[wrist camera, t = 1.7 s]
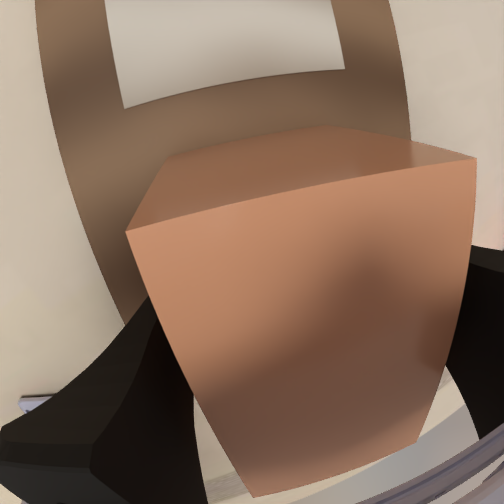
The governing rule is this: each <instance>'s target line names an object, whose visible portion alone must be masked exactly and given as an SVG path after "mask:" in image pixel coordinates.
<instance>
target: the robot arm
mask: <svg viewBox="0 0 504 504" xmlns="http://www.w3.org/2000/svg"><path fill="white" fill-rule="evenodd" d="M445 365H446V367H447V369H448V370H449V372H450V374H451V376H452V377H453V379H454V381H455V383H456V385H457V387H458V389H459V390H460V393H461V395H462V397H463V399H464V401H465V403H466V406H467V408H468V410H469V412H470V415H471V417H472V420H473V423H474V425H475V428H476V431H477V434H478V437H479V441H477V442H476V443H474V444H473V445H471V446H470V447H468V448H467V449H465V450H464V451H462V452H460V453H459V454H457V455H456V456H454V457H452V458H451V459H449V460H447V461H445V462H444V463H442V464H440V465H439V466H437V467H435V468H433V469H431V470H429V471H428V472H425V473H424V474H422V475H420V476H418V477H416V478H414V479H412V480H410V481H408V482H406V483H404V484H401V485H399V486H397V487H395V488H393V489H390V490H388V491H386V492H384V493H381V494H379V495H377V496H374V497H372V498H369V499H367V500H364V501H362V502H359V503H356V504H427V503H430V502H431V501H433V500H435V499H437V498H439V497H440V496H442V495H444V494H446V493H447V492H449V491H451V490H452V489H454V488H455V487H457V486H459V485H460V484H462V483H464V482H465V481H467V480H468V479H470V478H471V477H472V476H474V475H475V474H477V473H479V472H480V471H481V470H483V469H484V468H486V467H487V466H488V465H490V464H491V463H493V462H494V461H495V460H497V459H498V458H499V457H501V456H502V455H503V454H504V251H501V250H495V249H489V248H483V247H478V246H474V245H471V250H470V257H469V264H468V270H467V276H466V282H465V287H464V292H463V297H462V302H461V307H460V311H459V316H458V320H457V324H456V328H455V332H454V336H453V340H452V343H451V347H450V351H449V354H448V357H447V361H446V364H445ZM18 405H19V407H20V408H21V409H22V410H23V412H24V413H25V414H24V415H22V416H20V417H19V418H17V419H15V420H13V421H12V422H10V423H8V424H6V425H4V426H2V428H1V431H0V484H2V485H3V486H4V487H5V488H7V489H8V490H9V491H10V492H12V493H13V494H15V495H16V496H17V497H19V498H20V499H22V501H21V504H208V501H207V496H206V492H205V487H204V483H203V478H202V473H201V467H200V461H199V456H198V449H197V442H196V435H195V428H194V394H193V392H192V390H191V388H190V386H189V384H188V382H187V380H186V378H185V376H184V374H183V371H182V369H181V367H180V365H179V363H178V361H177V359H176V357H175V354H174V352H173V350H172V348H171V346H170V343H169V341H168V339H167V337H166V335H165V332H164V330H163V328H162V325H161V323H160V321H159V318H158V316H157V314H156V311H155V309H154V306H153V304H152V302H151V299H150V297H149V295H148V296H147V298H146V299H145V300H144V302H143V303H142V304H141V306H140V307H139V308H138V310H137V311H136V312H135V314H134V315H133V316H132V318H131V319H130V320H129V322H128V323H127V324H126V326H125V327H124V328H123V329H122V330H121V332H120V333H119V334H118V335H117V336H116V338H115V339H114V340H113V341H112V342H111V344H110V345H109V346H108V347H107V348H106V349H105V350H104V351H103V352H102V354H101V355H100V356H99V357H98V358H97V359H96V360H95V361H94V362H93V363H92V364H91V365H90V366H89V367H87V368H86V369H85V370H84V371H83V372H82V373H81V374H79V375H78V376H77V377H76V378H75V379H74V380H72V381H71V382H70V383H69V384H68V385H67V386H65V387H64V388H63V389H62V390H60V391H59V392H58V393H56V394H55V395H53V396H49V397H34V398H20V399H19V401H18ZM453 504H504V461H503V462H502V463H501V464H500V465H499V466H498V467H497V469H496V470H495V471H493V472H492V474H490V475H489V476H488V477H487V478H486V479H485V480H484V481H483V482H482V484H481V485H480V486H478V487H477V488H475V489H474V490H472V491H471V492H469V493H468V494H466V495H465V496H464V497H462V498H460V499H459V500H457V501H456V502H454V503H453Z"/></svg>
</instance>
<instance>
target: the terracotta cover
mask: <svg viewBox="0 0 504 504" xmlns="http://www.w3.org/2000/svg"><path fill="white" fill-rule="evenodd" d="M476 170H477V158H474V157H471V156H468V155H464V154H461V153H457V152H454V151H450V150H446V149H443V148H439V147H435V146H431V145H427V144H423V143H419V142H415V141H411V140H406V139H402V138H397V137H392V136H387V135H383V134H377V133H372V132H367V131H361V130H356V129H350V128H344V127H337V126H330V125H323V126H316V127H309V128H302V129H296V130H290V131H284V132H278V133H273V134H267V135H262V136H257V137H252V138H247V139H242V140H237V141H232V142H227V143H223V144H218V145H214V146H210V147H205V148H201V149H197V150H193V151H189V152H185V153H181V154H177V155H173V156H170V157H167V159H166V160H165V162H164V164H163V165H162V167H161V169H160V170H159V172H158V174H157V175H156V177H155V179H154V180H153V182H152V184H151V186H150V187H149V189H148V191H147V193H146V194H145V196H144V198H143V200H142V201H141V203H140V205H139V207H138V209H137V210H136V212H135V214H134V216H133V218H132V220H131V222H130V223H129V225H128V227H127V229H126V231H125V232H126V235H127V238H128V241H129V244H130V247H131V249H132V252H133V255H134V258H135V260H136V263H137V266H138V268H139V271H140V274H141V276H142V279H143V281H144V284H145V287H146V289H147V292H148V294H149V297H150V299H151V302H152V304H153V306H154V309H155V311H156V314H157V316H158V318H159V321H160V323H161V325H162V328H163V330H164V332H165V335H166V337H167V339H168V341H169V343H170V346H171V348H172V350H173V352H174V354H175V357H176V359H177V361H178V363H179V365H180V367H181V369H182V371H183V374H184V376H185V378H186V380H187V382H188V384H189V386H190V388H191V390H192V392H193V394H194V396H195V398H196V400H197V402H198V404H199V405H200V407H201V409H202V411H203V413H204V415H205V417H206V419H207V421H208V423H209V424H210V426H211V428H212V430H213V432H214V433H215V435H216V437H217V439H218V441H219V442H220V444H221V446H222V448H223V449H224V451H225V453H226V455H227V456H228V458H229V460H230V461H231V463H232V465H233V466H234V468H235V470H236V471H237V473H238V475H239V476H240V478H241V480H242V481H243V483H244V484H245V486H246V488H247V489H248V491H249V492H250V494H251V495H252V497H253V498H255V497H260V496H265V495H269V494H273V493H278V492H282V491H286V490H290V489H294V488H297V487H301V486H304V485H308V484H311V483H315V482H318V481H321V480H324V479H327V478H330V477H333V476H336V475H339V474H342V473H345V472H348V471H351V470H353V469H356V468H359V467H361V466H364V465H366V464H369V463H371V462H374V461H376V460H378V459H381V458H383V457H385V456H388V455H390V454H392V453H395V452H397V451H399V450H401V449H403V448H405V447H407V446H409V445H411V444H414V443H415V442H416V441H417V439H418V437H419V435H420V432H421V430H422V428H423V425H424V423H425V420H426V418H427V415H428V413H429V410H430V408H431V405H432V402H433V400H434V397H435V394H436V391H437V388H438V386H439V383H440V380H441V377H442V374H443V370H444V367H445V364H446V361H447V357H448V354H449V351H450V347H451V343H452V340H453V336H454V332H455V328H456V324H457V320H458V316H459V311H460V307H461V302H462V297H463V292H464V287H465V282H466V276H467V270H468V264H469V257H470V250H471V242H472V233H473V224H474V212H475V197H476Z"/></svg>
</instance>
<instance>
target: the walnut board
mask: <svg viewBox="0 0 504 504" xmlns="http://www.w3.org/2000/svg"><path fill="white" fill-rule="evenodd" d="M35 10H36V23H37V33H38V42H39V50H40V57H41V64H42V71H43V77H44V82H45V88H46V93H47V98H48V103H49V108H50V113H51V117H52V122H53V126H54V130H55V134H56V138H57V142H58V146H59V150H60V154H61V157H62V161H63V165H64V168H65V172H66V175H67V178H68V182H69V185H70V188H71V191H72V194H73V197H74V200H75V203H76V206H77V209H78V212H79V215H80V218H81V221H82V224H83V226H84V229H85V232H86V235H87V237H88V240H89V243H90V245H91V248H92V250H93V253H94V255H95V258H96V260H97V263H98V265H99V268H100V270H101V273H102V275H103V277H104V280H105V282H106V284H107V287H108V289H109V291H110V293H111V296H112V298H113V300H114V302H115V304H116V306H117V309H118V311H119V313H120V315H121V317H122V319H123V321H124V323H125V325H126V324H127V323H128V322H129V320H130V319H131V318H132V316H133V315H134V314H135V312H136V311H137V310H138V308H139V307H140V306H141V304H142V303H143V302H144V300H145V299H146V298H147V296H148V295H149V294H148V292H147V289H146V287H145V284H144V281H143V279H142V276H141V274H140V271H139V268H138V266H137V263H136V260H135V258H134V255H133V252H132V249H131V247H130V244H129V241H128V238H127V235H126V232H125V231H126V229H127V227H128V225H129V223H130V222H131V220H132V218H133V216H134V214H135V212H136V210H137V209H138V207H139V205H140V203H141V201H142V200H143V198H144V196H145V194H146V193H147V191H148V189H149V187H150V186H151V184H152V182H153V180H154V179H155V177H156V175H157V174H158V172H159V170H160V169H161V167H162V165H163V164H164V162H165V160H166V159H167V157H170V156H173V155H177V154H181V153H185V152H189V151H193V150H197V149H201V148H205V147H210V146H214V145H218V144H223V143H227V142H232V141H237V140H242V139H247V138H252V137H257V136H262V135H267V134H273V133H278V132H284V131H290V130H296V129H302V128H309V127H316V126H323V125H330V126H337V127H344V128H350V129H356V130H361V131H367V132H372V133H377V134H383V135H387V136H392V137H397V138H402V139H406V140H411V133H410V122H409V112H408V103H407V95H406V87H405V80H404V73H403V67H402V61H401V55H400V50H399V45H398V40H397V35H396V30H395V25H394V21H393V17H392V12H391V8H390V4H389V1H388V0H35Z"/></svg>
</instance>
